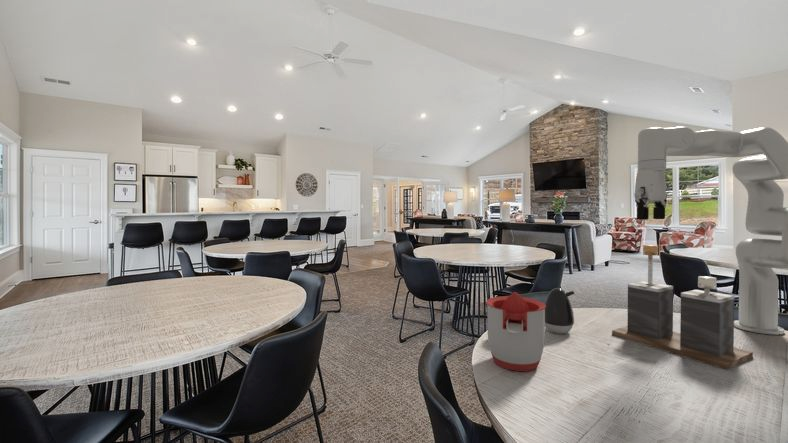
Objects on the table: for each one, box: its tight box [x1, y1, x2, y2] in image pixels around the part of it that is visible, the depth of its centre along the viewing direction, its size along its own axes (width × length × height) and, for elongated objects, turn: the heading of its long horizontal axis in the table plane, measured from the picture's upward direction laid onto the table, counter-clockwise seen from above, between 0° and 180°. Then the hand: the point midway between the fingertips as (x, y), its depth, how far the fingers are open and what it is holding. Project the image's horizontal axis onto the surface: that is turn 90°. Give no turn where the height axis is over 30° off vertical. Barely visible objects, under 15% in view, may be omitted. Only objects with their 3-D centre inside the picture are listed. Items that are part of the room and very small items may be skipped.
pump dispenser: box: [543, 287, 575, 335], centre depth 123 cm, size 10×10×15 cm
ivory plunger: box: [697, 275, 718, 295], centre depth 102 cm, size 7×7×20 cm
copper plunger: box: [642, 244, 659, 286], centre depth 115 cm, size 7×7×20 cm
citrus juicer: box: [485, 291, 546, 372], centre depth 97 cm, size 16×17×20 cm
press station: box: [611, 280, 754, 370], centre depth 109 cm, size 16×30×18 cm, turn 27°
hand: (650, 219), depth 115 cm, fingers open, 9 cm apart
